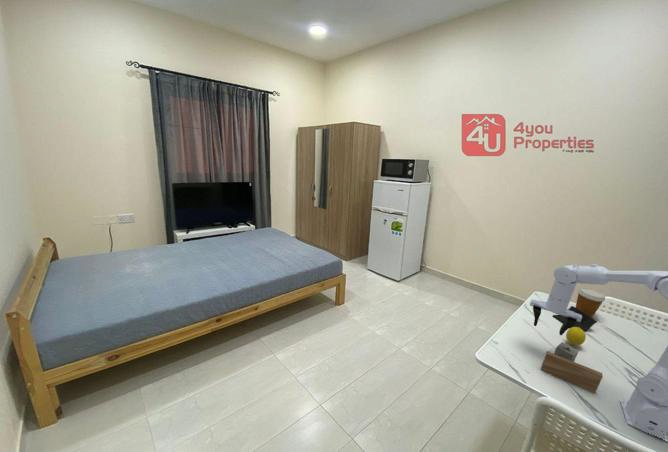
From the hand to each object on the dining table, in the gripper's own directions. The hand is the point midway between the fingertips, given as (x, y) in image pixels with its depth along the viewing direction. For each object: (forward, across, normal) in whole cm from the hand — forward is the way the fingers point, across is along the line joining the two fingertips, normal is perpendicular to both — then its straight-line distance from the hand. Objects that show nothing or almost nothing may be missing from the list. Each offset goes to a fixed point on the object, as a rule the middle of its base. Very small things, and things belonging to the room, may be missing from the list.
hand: (547, 329), depth 101 cm
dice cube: (+10, -7, 0) cm, 12 cm away
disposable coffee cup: (+10, -17, -43) cm, 48 cm away
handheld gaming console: (+10, -12, -30) cm, 34 cm away
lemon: (+10, -11, -12) cm, 19 cm away
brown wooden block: (+9, -7, +12) cm, 17 cm away
